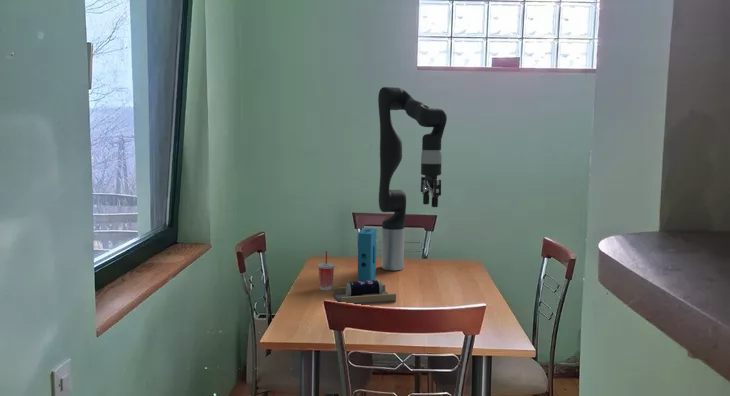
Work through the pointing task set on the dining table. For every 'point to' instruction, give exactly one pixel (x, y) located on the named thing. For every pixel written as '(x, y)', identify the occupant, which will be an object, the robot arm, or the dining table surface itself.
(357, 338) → the dining table surface
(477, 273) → the dining table surface
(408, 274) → the dining table surface
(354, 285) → the beverage can
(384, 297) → the brown open tray
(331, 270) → the beverage cup
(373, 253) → the block
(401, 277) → the dining table surface
